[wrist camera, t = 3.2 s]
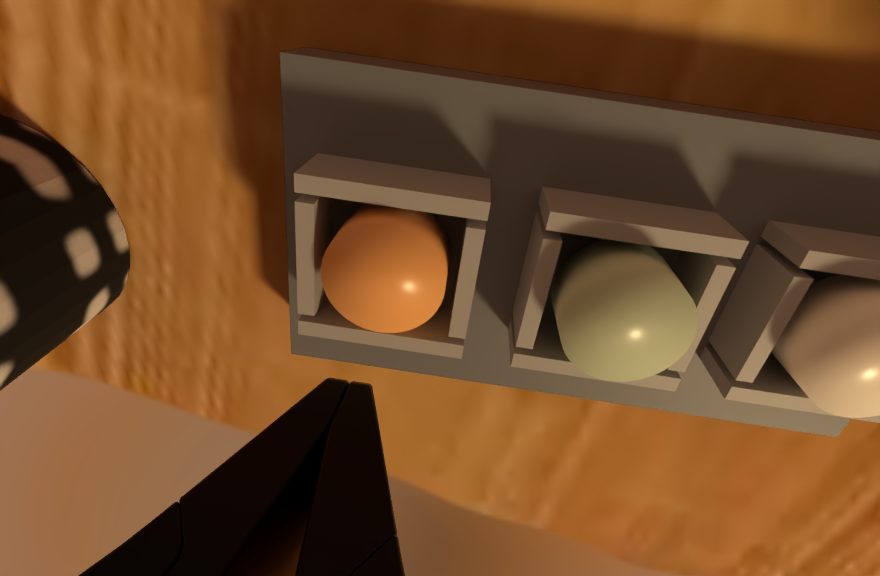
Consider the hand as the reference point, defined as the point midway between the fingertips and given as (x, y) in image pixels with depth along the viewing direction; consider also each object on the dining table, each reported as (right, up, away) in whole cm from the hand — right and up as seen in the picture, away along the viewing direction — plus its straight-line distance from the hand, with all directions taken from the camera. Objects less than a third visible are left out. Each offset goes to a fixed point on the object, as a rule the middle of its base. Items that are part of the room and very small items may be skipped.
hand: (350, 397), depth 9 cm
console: (+7, +3, +8) cm, 11 cm away
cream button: (+13, +1, +5) cm, 14 cm away
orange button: (0, +3, +6) cm, 7 cm away
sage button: (+7, +2, +5) cm, 9 cm away
